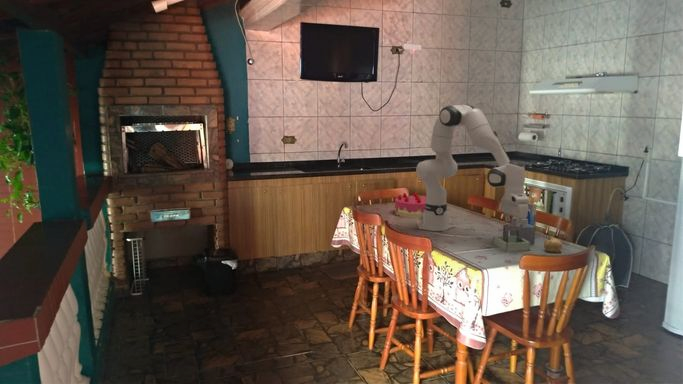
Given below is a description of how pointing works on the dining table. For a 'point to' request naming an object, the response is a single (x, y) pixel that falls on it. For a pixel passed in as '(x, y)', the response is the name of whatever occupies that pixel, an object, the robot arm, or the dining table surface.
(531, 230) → the vise
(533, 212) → the clamped hook
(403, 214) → the cake
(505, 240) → the loose hook
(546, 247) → the onion
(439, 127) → the robot arm
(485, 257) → the dining table surface
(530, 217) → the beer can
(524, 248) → the bin
